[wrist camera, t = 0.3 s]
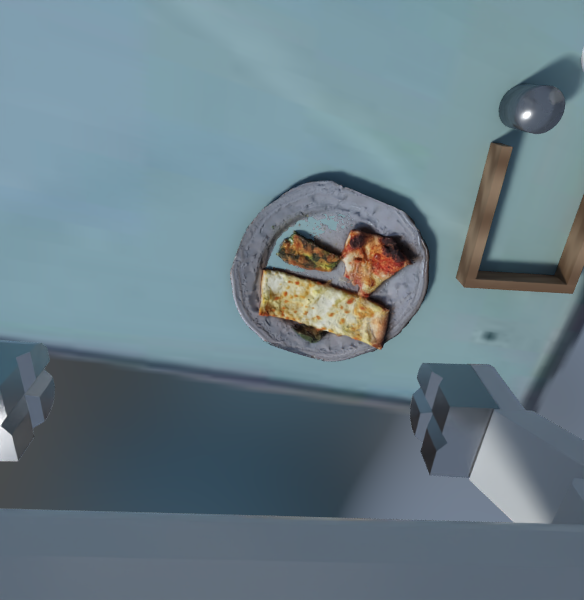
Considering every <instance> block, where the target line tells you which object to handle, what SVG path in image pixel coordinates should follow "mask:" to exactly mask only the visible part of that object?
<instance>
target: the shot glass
mask: <svg viewBox="0 0 584 600" xmlns="http://www.w3.org/2000/svg"><path fill="white" fill-rule="evenodd" d="M581 64H582V70H583V72H584V48H583V52H582V57H581Z"/></svg>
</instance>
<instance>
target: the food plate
mask: <svg viewBox="0 0 584 600" xmlns="http://www.w3.org/2000/svg"><path fill="white" fill-rule="evenodd" d="M335 183H336V182H334V181H331V180H329V181H316V182H315V181H314V182H309V183H304V184H302V185H299V186H297V187H295V188H292V189H290V190H289V191H287V192H286V193H284V194H283V195H281V197H279V199H277V200H276V201H274V202H272V203H271V204H269V205H268V206H266V207H264V209H262V211H261V212H260V213H258V215H257V217H256V218H255V219H254V220H253V221H252V223H251V224H250V225H249V226H248V229H247V230H246V232H245V234H244V236H243V238H242V240H241V242H240V246H239V248H238V251H237V253H236V256H235V259H234V262H233V265H232V268H231V272H230V276H231V278H230V279H231V282H232V283H231V284H232V288H233V291H232V292H233V296H234V297H233V298H234V300H235V305H236V306H237V309H238V312H239V313H240V316H241V318H242V319H243V320H244V322H245V323H246V325H248V326H249V328H250V329H251V330H253V331H254V332H255V333H256V334H258V336H259V337H260V338H261V339H263V340H264V341H266V343H267V341H268V342H269V343H268V344H270V343H271V344H270V345H272V344H274V345H273V346H275V345H276V346H275V347H277V346H278V348H280V347H282V348H281V349H283V348H284V350H287V351H290V352H293V353H297V354H300V355H303V356H306V355H307V357H309V356H310V358H314V359H315V358H317V359H318V360H319V359H321V361H341V360H346V359H350V358H353V357H356V356H359V355H361V354H365V353H368V352H373V351H375V350H377V349H382V348H383V345H384V344H385V343H386V342H387V341H388V340H390V339H392V338H393V337H395V336H397V335H398V334H399V333H400V332H401V331H402V329H403V328H404V327H405V326H407V324H408V323H409V321H410V320H411V319H412V317H413V316H414V315H415V314H416V313H417V311H418V310H419V308H420V306H421V303H422V302H423V300H424V297H425V295H426V293H427V289H428V282H429V273H428V272H429V250H428V247H427V245H426V243H425V240H424V239H423V238H422V236H421V233H420V231H419V229H417V228H416V226H415V223H414V221H413V220H412V218H410V217H409V216H408V215H407V214H406V213H405V212H404V211H401V209H400V210H399V209H397V208H395V207H393V206H391V205H388V204H385V203H383V202H381V201H379V200H376V199H374V198H372V197H369V196H366V195H364V194H361V193H359V192H357V191H355V190H352V189H349V188H347V187H345V188H343V187H342V185H340V184H339V185H338V183H336V184H335ZM359 212H360V213H359ZM323 214H327V217H328V218H327V220H330V218H329V216H335V217H334V218H332V219H334V221H335V222H336V221H337V222H338V221H339V224H337V228H336V230H337V231H336V232H335V231H334V230H331V229H329V228H328V226H327V225H326V224H325V225H323V223H320V225H321V226H322V227H321V228H319V230H320V229H322V231H325V233H322V234H319V235H320V237H318V236H317V235H316V236H314V241H313V240H312V239H307V238H305V237H304V236H302V235H300V234H298V233H297V232H296V231H295V230H294V231H293V234H292V235H291V236H290V237H289V238H288V239H284V240H283V242H282V243H281V244H280V249H279V251H278V253H276V255H277V256H279V257H280V258H281V259H282V260H283V261H285V263H288V264H289V265H290V264H293V265H294V266H295V265H297V266H296V268H299V267H300V268H302V269H304V270H305V271H307V272H295V271H293V270H292V271H290V270H289V269H285V270H284V269H277V268H275V267H273V270H272V269H269V268H266V266H267V264H268V260H269V258H270V256H271V253H272V251H273V248H274V246H275V244H276V241H277V239H278V238H279V237H280V236H281V235H282V233H283V232H284V231H287V230H288V228H289V227H292V226H294V225H295V224H296V222H297V221H298V220H304V219H305V221H307V222H308V217H312V216H313V218H314V219H317V220H320V219H324V218H326V217H325V215H323ZM338 214H342V215H345V216H346V217H345V218H343V217H342V216H338ZM348 215H349V216H350V217H349V216H348ZM338 217H340V218H341V219H338ZM348 219H349V220H348ZM352 219H353V220H352ZM341 220H343V222H344V224H343V223H342V221H341ZM320 222H321V221H320ZM347 222H348V223H347ZM360 222H362V223H364V224H362V223H361V224H360ZM315 224H316V223H315ZM351 224H352V225H353V226H351ZM342 225H345V228H344V229H342V228H341V226H342ZM299 226H300V223H299ZM307 226H308V225H307ZM347 227H348V228H347ZM316 228H318V226H317V227H316ZM313 230H314V228H313ZM339 231H341V232H339ZM313 233H314V232H313ZM315 234H316V233H315ZM311 235H312V234H310V236H311ZM312 236H313V235H312ZM422 240H424V242H423V241H422ZM314 242H315V243H314ZM325 247H326V248H325ZM307 274H308V275H307ZM334 277H335V278H334ZM322 359H323V360H322Z"/></svg>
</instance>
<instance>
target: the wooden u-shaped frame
mask: <svg viewBox="0 0 584 600" xmlns="http://www.w3.org/2000/svg"><path fill="white" fill-rule="evenodd" d="M512 148H513V147H511V146H508V145H505V144H502V143H491V144H490V148H489V152H488V156H487V160H486V164H485V167H484V171H483V175H482V179H481V183H480V187H479V191H478V194H477V198H476V202H475V206H474V210H473V214H472V218H471V222H470V225H469V229H468V233H467V237H466V241H465V245H464V249H463V252H462V256H461V260H460V264H459V268H458V272H457V276H456V278H457V280H458V281H459V282H460V283H461V284H462V285H463V287H466V288H484V289H501V290H518V291H535V292H552V293H569V294H573V292H574V290H575V287H576V284H577V282H578V279H579V277H580V274H581V272H582V269H583V266H584V195H583V198H582V201H581V203H580V206H579V209H578V212H577V214H576V217H575V220H574V223H573V225H572V228H571V231H570V234H569V236H568V239H567V242H566V245H565V248H564V250H563V253H562V256H561V259H560V261H559V264H558V267H557V270H556V272H555V275H540V274H524V273H508V272H491V271H478V270H479V266H480V263H481V259H482V255H483V252H484V248H485V245H486V241H487V238H488V234H489V230H490V227H491V223H492V220H493V216H494V213H495V209H496V206H497V202H498V198H499V195H500V191H501V188H502V184H503V181H504V177H505V173H506V170H507V166H508V163H509V159H510V156H511V152H512Z"/></svg>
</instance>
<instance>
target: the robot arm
mask: <svg viewBox="0 0 584 600" xmlns="http://www.w3.org/2000/svg"><path fill="white" fill-rule="evenodd" d="M49 361H50V359H49V355H48V350H47V347H46V346H45V345H43V344H42V343H34V342H20V341H6V340H0V461H19V459H20V458H21V456H22V455H23V453H24V452H25V450H26V449H27V447H28V446H29V444H30V443H31V441H32V440H33V438H34V433H33V428H34V427H36V426H37V425H39V424H41V423H42V422H44V421H45V420H46V418H47V416H48V415H49V413H50V411H51V408H52V405H53V401H54V395H55V386H54V380H53V377H52V376H51V375H50V374H49V373H48V372H47V371H46V370H45V369H44V368H45V367H46V365H47V364H48V362H49ZM417 380H418V382H419V384H420V388H419V389H418V390H417V391H416V392H415V393H414V394H413V396H412V400H411V405H410V421H411V426H412V430H413V433H414V435H415V437H417V438H418V439H419V440H420V441H422V442H423V444H422V448H421V454H422V456H423V459H424V462H425V464H426V467H427V469H428V472H429V475H434V476H450V477H466V478H470V479H469V480H470V481H471V482H472V483H473V484H474V485H475V486H476V487H478V488H479V489H480V490H481V491H482V492H483V493H484V494H485V495H486V496H487V497H488V498H489V499H490V500H491V501H492V502H493V503H494V504H495V505H496V506H497V507H498V508H499V509H500V510H502V511H503V512H504V513H505V514H506V515H507V516H508V517H509V518H510V519H511V520H512V521H513V522H514V523H510V522H467V521H466V522H465V521H431V520H398V519H396V520H394V519H363V518H328V517H327V518H326V517H292V516H291V517H290V516H257V515H218V514H217V515H216V514H178V513H142V512H103V511H69V510H34V509H0V600H584V440H582V439H581V438H579V437H577V436H575V435H574V434H572V433H570V432H568V431H567V430H565V429H563V428H562V427H560V426H558V425H556V424H555V423H553V422H551V421H549V420H548V419H546V418H544V417H542V416H541V415H539V414H537V413H536V412H534V411H526V410H525V409H524V407H523V406H522V405H521V403H520V402H519V401H518V399H517V398H516V397H515V395H514V394H513V392H512V391H511V390H510V388H509V387H508V386H507V384H506V383H505V382H504V380H503V379H502V378H501V376H500V375H499V374H498V372H497V371H496V369H495V368H494V367H493V366H491V365H489V364H442V363H422V365H421V367H420V368H419V372H418V375H417Z"/></svg>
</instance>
